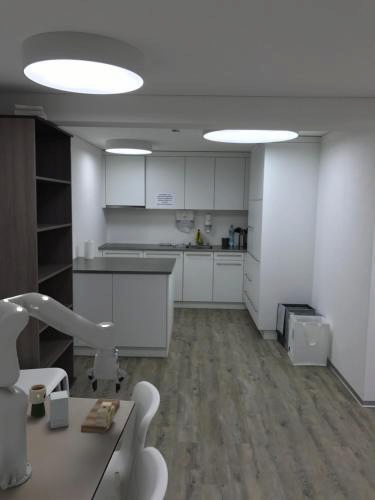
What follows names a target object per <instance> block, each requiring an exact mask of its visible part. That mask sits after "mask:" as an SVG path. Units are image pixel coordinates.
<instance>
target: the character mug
mask: <svg viewBox="0 0 375 500" xmlns="http://www.w3.org/2000/svg"><path fill="white" fill-rule="evenodd" d="M28 389H29V390H28V395H29V397H28V399H29V404H31V407H30V408H31V409H30V417H32V418H40V417H43V416H46V415H45V414H46V406H45V402H46V401H47V385H46V384H44V383H43V384H42V383H37V384H33V385H31V386H29V388H28Z"/></svg>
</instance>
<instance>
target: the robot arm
mask: <svg viewBox="0 0 375 500" xmlns="http://www.w3.org/2000/svg"><path fill="white" fill-rule="evenodd" d="M30 317H32V318H36V319H38V320H39V321H41V322H43V323H45V324H47V325H48V326H50V327H52V328H54V329H55V330H57V331H59V332H61V333H63V334H64V335H65V334H66V335H68V336H71V337H74V338H76V339H77V341H78V342H79V343H81V344H82V345H85V346H88V347H90V348H94V349H96V354H95V356H94V362H93V367H91V368H89V369H87V370H85V373H86V376H87V378H88V380H89V381H90V382H91V384H92V386H91V388H92V389H93V390H92V391H93V393H96V391H97V389H98V380H114V382H116V383H115V393H116V394H118V393H119V391H120V390H121V383H122V382H123V381H124V380H125V378H126V376H127V373H128V372H126V371H125V370H123V369H121V368H120V362H119V358H118V356H119V355H118V353H119V349H116V326H115V324H114V323H113V322H112V321H103V322H100V323H97V324H96V323H94V322H92V321H91V320H89V319H86V318H85V317H84V316H82V315H80V314H78V313H76V312H74V311H73V310H72V309H70V308H68V307H66V306H65V305H63V304H62V303H61V302H59V301H57V300H56V299H54V298H53V297H51V296H49V295H45V294H41V293H39V292H38V293H37V292H29V293H28V292H26V293H24V294H19V295H16V296H12V297H7V298H4V299H0V488H1V489H2V490H7V489H8V488H14V487H17V486H19V485H21V484H23V483H25V482H26V481H27V480H28V479H30V477H31V475H32V474H33V466H32V465H31V463H29V462H28V447H27V446H28V442H27V439H28V438H27V437H28V436H27V435H28V433H27V432H28V431H27V419H28V418H27V416H28V411H29V406H30V405H29V404H30V402H29V397H28V395H27V393H26V392H25V391H24V389H22V388H20V387H19V386H18V385H15V384H17V382H18V381H19V379H20V374H21V369H20V363H19V357H18V351H17V339H18V337H19V335H20V333H21V332H22V331H23V330H24V329H25V328H26V326H27V325H28V323H29V320H30ZM92 373H93V374H92ZM120 374H121V376H119V375H120Z"/></svg>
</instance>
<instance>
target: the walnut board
mask: <svg viewBox="0 0 375 500" xmlns="http://www.w3.org/2000/svg"><path fill="white" fill-rule="evenodd" d="M103 402H112V406H114V415H115V414H116V412H117V411H118V408H119V407H120V402H121V401H120V399H114V398H102V397H99V398H98V399H97V401H96V402H95V403H94V405H93V407H92V409H91V410H90V411H89V413H88V415H87V416H86V418H85V419H84V421H83V422H82V424H81V425H80V431H81V432H83V433H84V432H86V433H98V434H105V433H106V431H107V429H106V427H102V426H96V414H97V411H98V409H99V408H100V406H101V404H102V403H103Z"/></svg>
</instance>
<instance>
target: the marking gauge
mask: <svg viewBox="0 0 375 500" xmlns="http://www.w3.org/2000/svg"><path fill="white" fill-rule="evenodd" d="M114 419H115V414H114V406H112V402H103V403H102V404H101V406H100V408H99V409H98V411H97V414H96V426H102V427H106V430H109V429H110V427H111V426H112V425H111V424H112V422H113V420H114Z"/></svg>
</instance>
